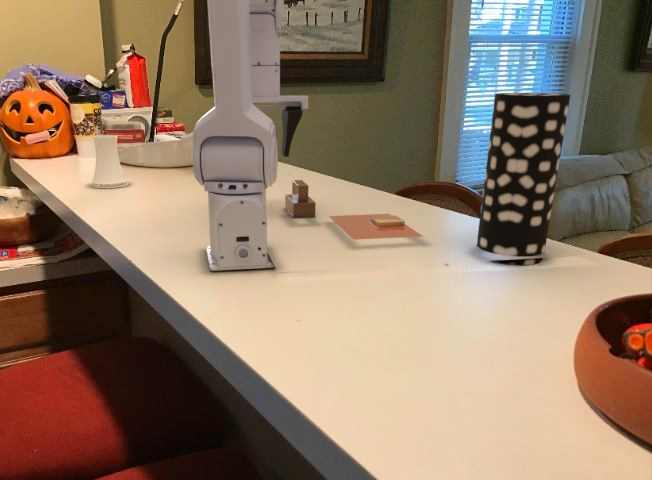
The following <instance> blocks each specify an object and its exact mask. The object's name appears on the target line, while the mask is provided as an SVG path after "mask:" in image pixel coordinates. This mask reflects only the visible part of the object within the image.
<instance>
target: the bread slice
mask: <svg viewBox="0 0 652 480" xmlns="http://www.w3.org/2000/svg"><path fill="white" fill-rule="evenodd" d="M370 221H372V222H373V223H374V224H376V225H377V226H378V227H384V226H404V224H406V223H405V222H406V221H405V220H404V219H402V218H401V217H399V216H397V215H396V214H391V215H384V216H370Z"/></svg>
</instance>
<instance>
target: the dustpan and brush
mask: <svg viewBox="0 0 652 480" xmlns="http://www.w3.org/2000/svg"><path fill="white" fill-rule="evenodd" d="M153 137H154V139H155V140H156V141H150V142H143V143H138V144H134V145H133V144H132V145H128V146H126V147H122V148H119V149H117V150H118V157H119V161H120V163H123V164H127V165H130V166H131V165H132V166H138V167H145V168H165V169H166V168H169V169H171V168H182V167H190V166H193V132H191V133H187V134H182V135H181V137H180V138H178V137H175V136H172V135H169V134H164V133H163V134H155V135H154V136H153Z"/></svg>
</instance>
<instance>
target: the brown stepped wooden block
mask: <svg viewBox="0 0 652 480" xmlns="http://www.w3.org/2000/svg"><path fill="white" fill-rule="evenodd" d="M291 192H292V193H291V194H290V193H289V194H284V199H285V200H284V202H285V203H284V208H285V210H286V212H287V213H288V214H289V215H290V216H291V218H292V219H313V218H314V219H315V218H316V202H315V200H314V199H312V198H311V197H310V196H309V185H308V184H307V183H306V182H305V181H303V179H293V180H292V183H291Z"/></svg>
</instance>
